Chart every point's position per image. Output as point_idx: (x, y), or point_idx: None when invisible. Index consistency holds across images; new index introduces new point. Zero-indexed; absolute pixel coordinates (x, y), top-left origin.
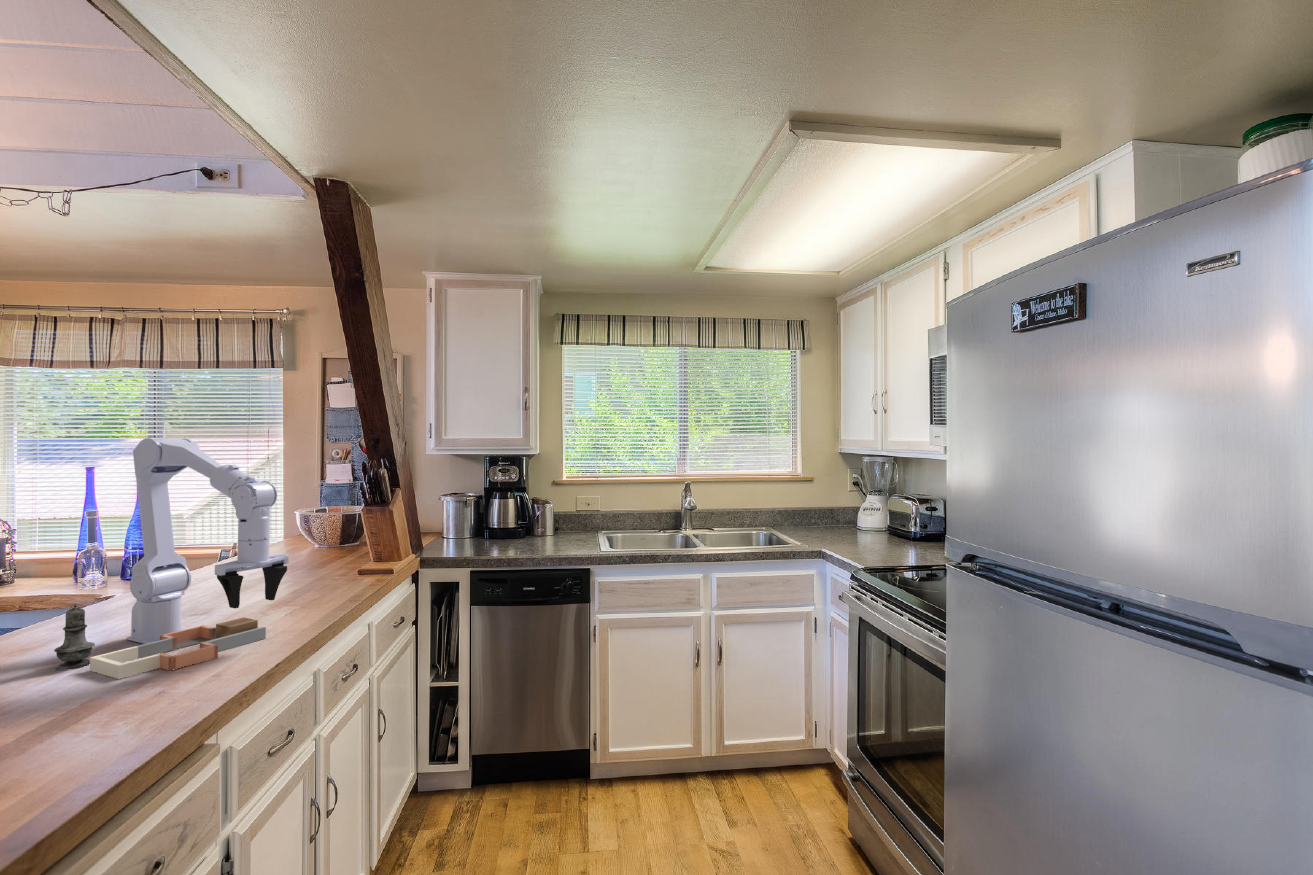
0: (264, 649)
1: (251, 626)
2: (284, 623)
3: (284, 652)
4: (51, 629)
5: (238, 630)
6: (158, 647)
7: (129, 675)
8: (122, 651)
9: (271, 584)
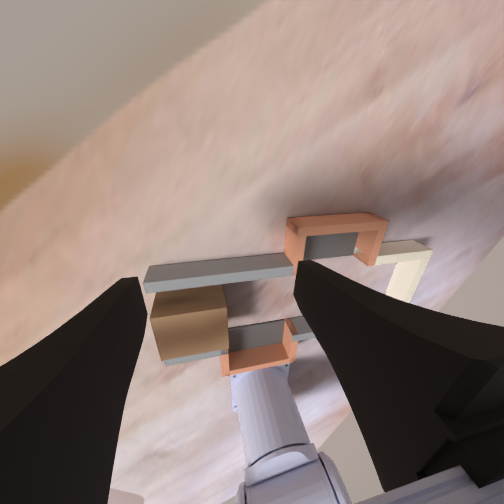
0: (198, 183)
1: (169, 307)
2: None
3: (179, 95)
4: None
5: (204, 301)
6: None
7: (401, 241)
8: None
9: (106, 356)
